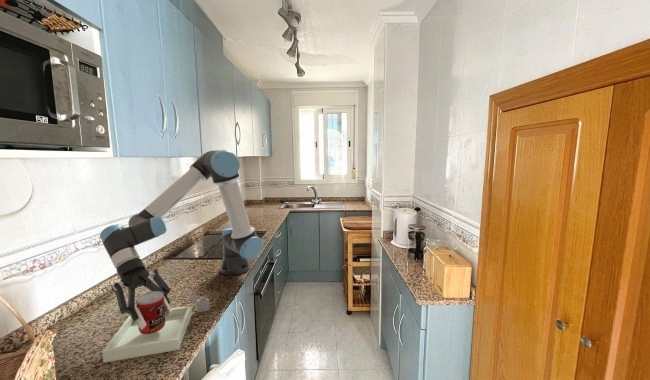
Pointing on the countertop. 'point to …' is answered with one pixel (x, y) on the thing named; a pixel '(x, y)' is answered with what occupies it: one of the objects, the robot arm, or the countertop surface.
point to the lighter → (200, 302)
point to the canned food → (152, 311)
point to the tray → (148, 337)
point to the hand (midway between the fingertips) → (157, 320)
